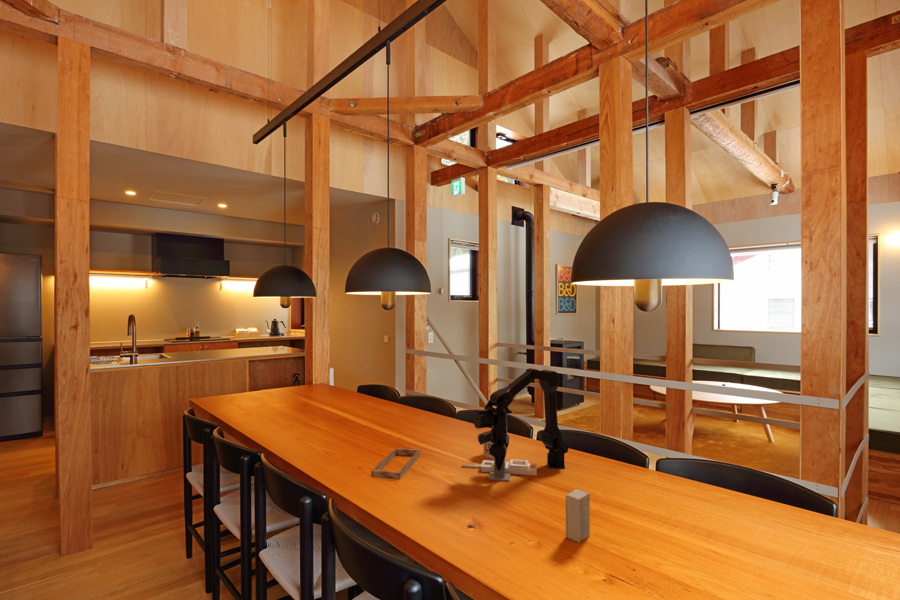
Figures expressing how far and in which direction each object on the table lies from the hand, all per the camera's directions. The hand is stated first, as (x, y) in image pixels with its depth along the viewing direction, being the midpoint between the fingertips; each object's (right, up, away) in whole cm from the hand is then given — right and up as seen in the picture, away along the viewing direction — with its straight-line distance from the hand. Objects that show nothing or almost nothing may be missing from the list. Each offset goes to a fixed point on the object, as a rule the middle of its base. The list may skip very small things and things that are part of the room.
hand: (499, 465), depth 171 cm
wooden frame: (-41, -5, +13) cm, 43 cm away
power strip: (0, -4, +8) cm, 9 cm away
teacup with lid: (+1, -5, +24) cm, 25 cm away
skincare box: (+17, -3, -46) cm, 49 cm away
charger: (0, -4, 0) cm, 4 cm away
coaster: (0, -4, 0) cm, 4 cm away
